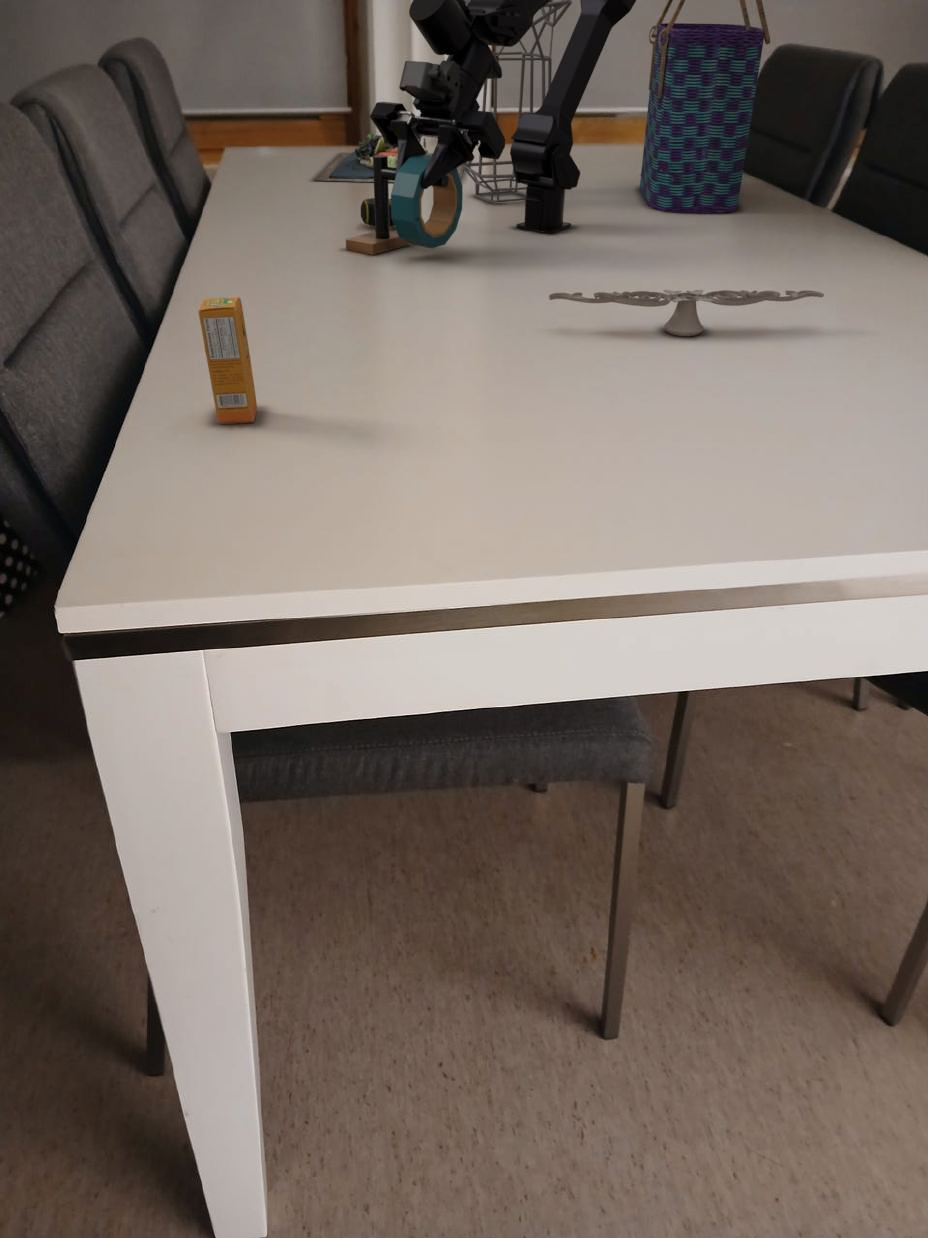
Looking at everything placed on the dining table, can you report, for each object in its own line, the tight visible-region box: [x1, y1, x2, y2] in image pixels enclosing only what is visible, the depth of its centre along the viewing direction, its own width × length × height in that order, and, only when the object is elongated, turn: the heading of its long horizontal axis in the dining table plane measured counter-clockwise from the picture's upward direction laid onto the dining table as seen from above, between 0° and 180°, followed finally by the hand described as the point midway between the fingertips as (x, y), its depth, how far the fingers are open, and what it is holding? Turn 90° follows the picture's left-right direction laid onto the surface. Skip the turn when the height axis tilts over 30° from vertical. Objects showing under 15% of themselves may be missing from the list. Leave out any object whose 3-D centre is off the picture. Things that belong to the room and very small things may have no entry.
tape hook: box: [373, 155, 449, 239], centre depth 132 cm, size 2×12×12 cm, turn 55°
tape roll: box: [390, 155, 464, 249], centre depth 130 cm, size 11×4×11 cm, turn 145°
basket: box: [639, 0, 771, 215], centre depth 161 cm, size 26×18×40 cm
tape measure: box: [360, 197, 395, 228], centre depth 149 cm, size 7×7×4 cm
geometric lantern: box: [462, 0, 573, 204], centre depth 160 cm, size 16×16×35 cm
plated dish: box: [314, 132, 465, 183], centre depth 194 cm, size 35×28×7 cm
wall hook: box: [548, 289, 825, 337], centre depth 106 cm, size 5×30×4 cm, turn 94°
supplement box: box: [197, 296, 258, 425], centre depth 82 cm, size 3×3×10 cm
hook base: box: [345, 230, 409, 256], centre depth 138 cm, size 8×5×2 cm, turn 145°
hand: (410, 184), depth 126 cm, fingers closed on tape roll, 4 cm apart
